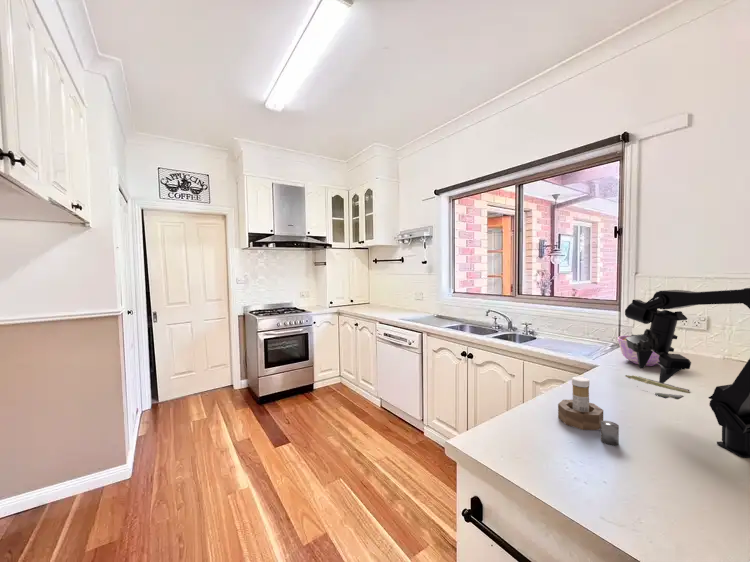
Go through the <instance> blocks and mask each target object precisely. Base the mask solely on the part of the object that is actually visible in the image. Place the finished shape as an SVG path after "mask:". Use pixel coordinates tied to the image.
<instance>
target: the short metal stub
mask: <svg viewBox="0 0 750 562" xmlns="http://www.w3.org/2000/svg"><path fill="white" fill-rule="evenodd" d="M619 428H620V426H619V424H618V423H616V422H614V421H610V420H603V421H601V428H600V442H601V443H603V444H605V445H608V446H610V447H618V446H619V444H620V441H619V439H620V438H619V437H620V436H619V435H620V429H619Z"/></svg>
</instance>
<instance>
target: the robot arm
mask: <svg viewBox="0 0 750 562" xmlns="http://www.w3.org/2000/svg"><path fill="white" fill-rule="evenodd" d="M735 304H737V305H738V304H740V305H741V304H743V305H744V306H746V307H747V308H748V309H749V310H750V287H745V288H744V287H743V288H741V289H729V290H728V289H726V290H725V289H724V290H710V291H691V290H682V289H669V290H666V289H664V290H658V291H656V292H655V293H654V295H653V297H652V298H650V299H649V300H648V301H643V300H640V299H632V301H631V302H630V303H629V305H628V306H627V307H626V308H625V310H624V315H625V317H626V318H627V319H629V320H633V321H636V322H638V323H642V324H644V325H648V324H650V326H649V328H646V329H644V332H643V334H641V333H640V334H631V335H629V336H630V337H627V338H626V341H627V346H628V348H631V349H632V350H633V351H634V352H636V353H637V357H638V363H639V365H638V367H639V368H640V369H644V368H645V367H646V366H645V365H646V364H647V362H648V360H649V358H650V356H651V354H652V353H653V352H655V353H656V354H658V355H660V356H659V361H660V362H657V363H658V364H657V365H659V366H660V371H659V372H660V373H659V381H658V382H660V383H665V382H667V381H668V380H670V378H671V377H673V376H675V375H676V374H677V373H679V372H680V371H683V370H690V369H691V365H692V361H691V360H690V359H689V358H687V357H685V356H683V355H682V354H679V353H674V351H675V348H674V347H672V343H673V340H677V339H678V335H676V334H675V331H676V329H677V324H678V321H687V320H688V318H687V316H686V315H684V314H683V311H680V310H679V311H672V310H676V309H677V310H678V309H683V308H690V307H694V306H701V305H735ZM669 352H673V353H669ZM708 399H710V400H709V404H708V405H709V407H710V409H711V411H712V412H713V413H714V416H715V419H716V421H717V423H718V425H719V427H720V426H721V441H716V444H717V446H720V447H722V448H724V449H726V450H728V451H730V452H731V453H733V454H735V455H736V456H739V457H741V458H750V358H749V359H747V362H745V364H744V366H743V368H742V369H741V370H740V372H739V373H738V375H737V377H736V378H735V379H734V380H733V382H732V383H731V384H725V385H717V386H716V387H715V388H714V391H713V393H712V394H711V395H710V396H708Z"/></svg>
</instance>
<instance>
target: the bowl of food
mask: <svg viewBox="0 0 750 562" xmlns="http://www.w3.org/2000/svg"><path fill="white" fill-rule="evenodd" d="M630 336H631V335H620V336H618V337H617V340H618V344H619V348H620V351H621V354H622V356H624V358H625V359H626V360H628V361H630V362H632V363H633V364H636V365H638V366H639V363H638V357H637V353H636V352H634V351H633V350H632V349H631V348H628V346H627V341H626V338H627V337H630ZM659 356H660V355H658V354H656V353H655V352H653V353H652V354H651V356H650V358H649V360H648V362H647V364H646V365H645V367H646V366H647V367H653V366H655V365H659V364H658V363H657V362H660V361H659Z"/></svg>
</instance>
